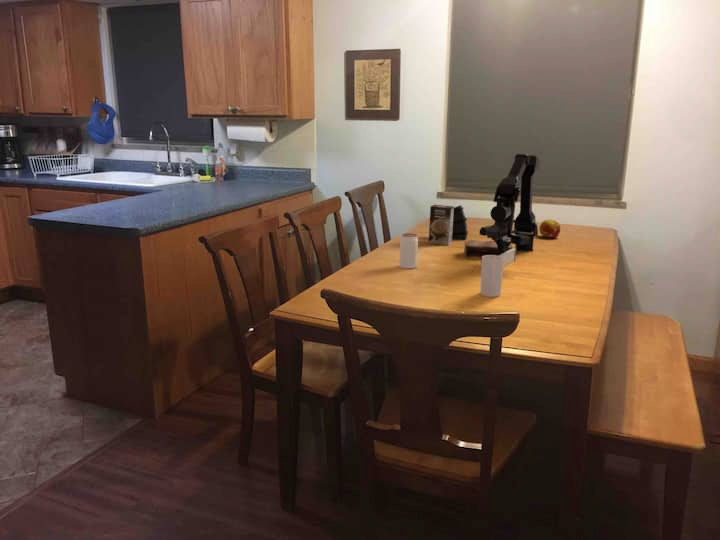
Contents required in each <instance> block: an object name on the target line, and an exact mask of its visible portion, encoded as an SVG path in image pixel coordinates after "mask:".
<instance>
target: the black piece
mask: <svg viewBox="0 0 720 540" xmlns="http://www.w3.org/2000/svg"><path fill="white" fill-rule="evenodd" d="M467 220H468V218H467V217H466V215H465V212H464V207H463V206H462V204H460V205H457V206H454V215H453V229H452V239H453V240H459V239H461V240H463V241H465V240H468V234H469V231H468V225H467Z"/></svg>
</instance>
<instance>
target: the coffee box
mask: <svg viewBox="0 0 720 540" xmlns="http://www.w3.org/2000/svg"><path fill="white" fill-rule="evenodd" d="M454 208H455V206H453V205H441V204H433V205H430V211H429V213H430V214H429V227H428V228H429V229H428V231H429V232H428V244H432V243H433V244H434V245H443V246H450V244H452V243H453V240H452V229H453V215H454Z"/></svg>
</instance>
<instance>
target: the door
mask: <svg viewBox="0 0 720 540" xmlns="http://www.w3.org/2000/svg"><path fill="white" fill-rule="evenodd" d="M516 253H517V248H516V247H513V249H511V250H509V251H506V252H504V253H502V254H500V255H498V256H501V257H504V266H503V268H504V267H506V266H508V265H511V264H512V263H513V262H516V255H517V254H516ZM511 262H512V263H511Z"/></svg>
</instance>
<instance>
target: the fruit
mask: <svg viewBox="0 0 720 540" xmlns="http://www.w3.org/2000/svg"><path fill="white" fill-rule="evenodd" d="M538 231H539V233H540V235H542V236H543V237H545V238H549V239H555V238H557V237H558V236H560V233H561V225H560V223H559V222H557V221H556V220H553V219H545V220H543V221H542V222H541V223H540V225H539V229H538Z"/></svg>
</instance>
